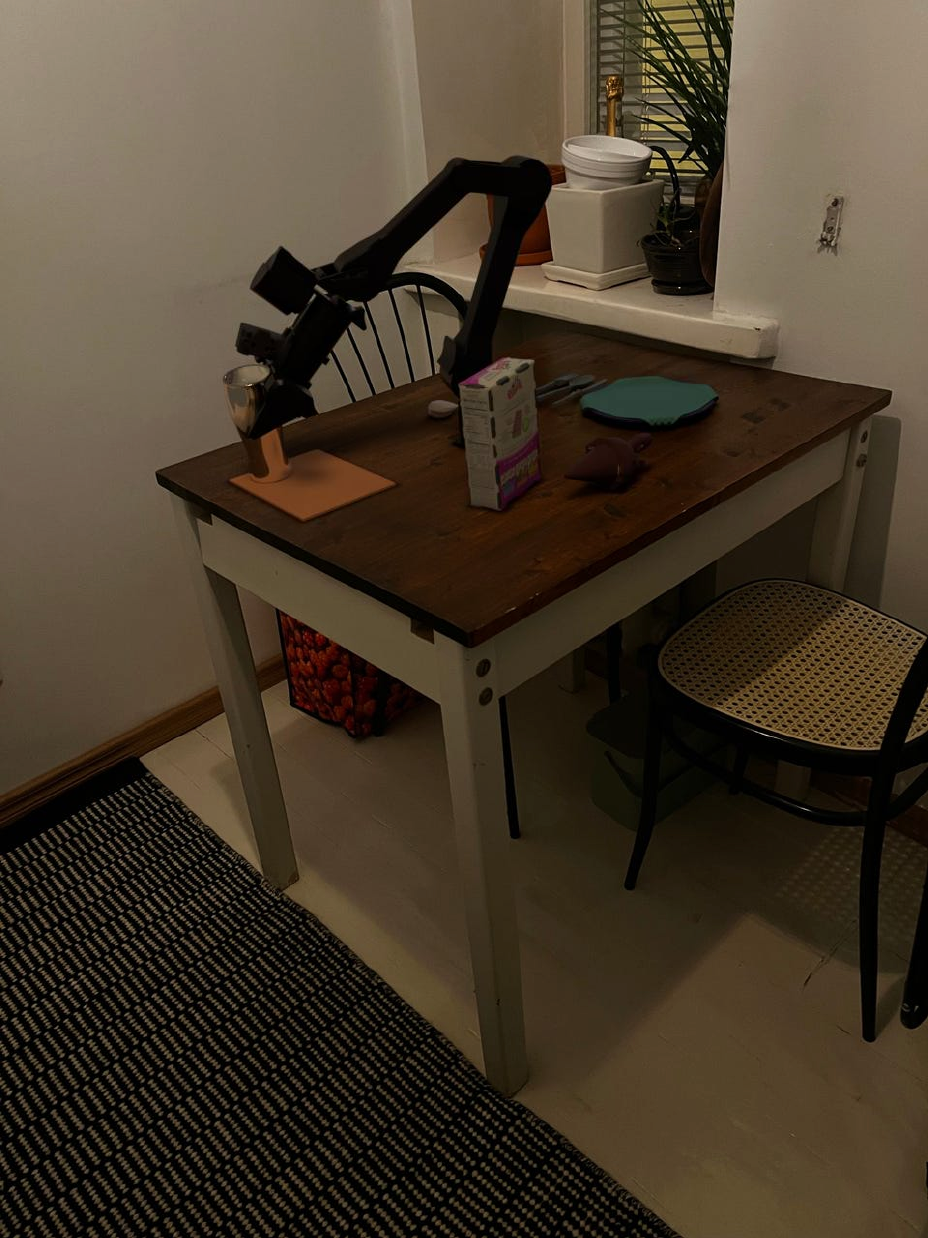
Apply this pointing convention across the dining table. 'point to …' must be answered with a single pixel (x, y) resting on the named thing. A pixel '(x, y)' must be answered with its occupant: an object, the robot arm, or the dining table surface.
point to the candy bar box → (500, 432)
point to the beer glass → (244, 407)
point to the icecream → (610, 461)
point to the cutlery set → (637, 398)
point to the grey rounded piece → (441, 408)
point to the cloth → (316, 485)
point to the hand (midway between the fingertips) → (248, 429)
